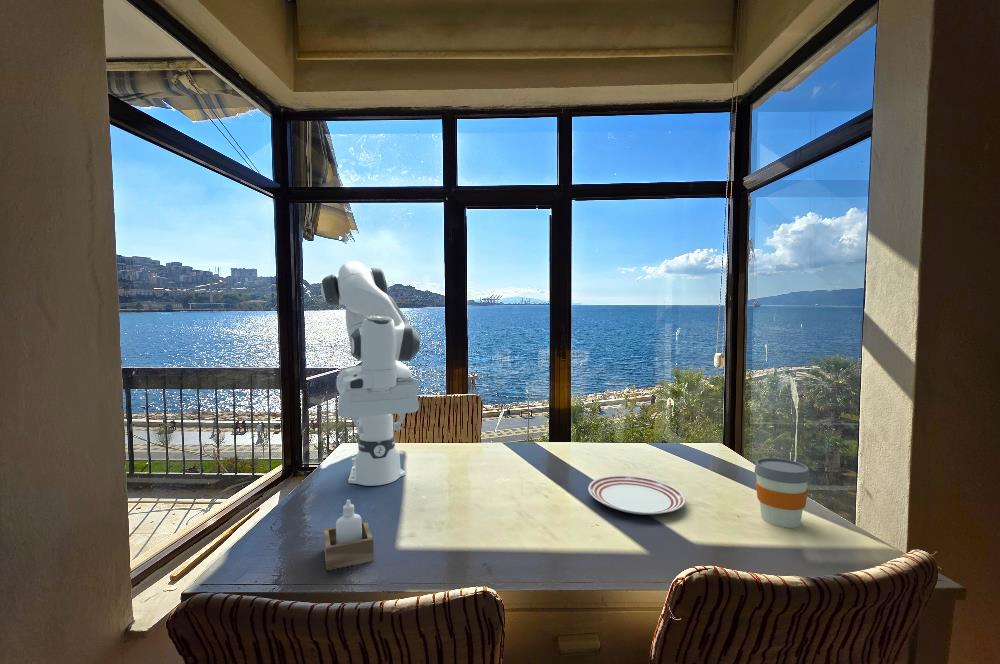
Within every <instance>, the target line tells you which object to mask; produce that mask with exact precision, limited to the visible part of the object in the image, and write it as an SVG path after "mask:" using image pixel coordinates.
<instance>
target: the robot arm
mask: <svg viewBox="0 0 1000 664" xmlns="http://www.w3.org/2000/svg"><path fill="white" fill-rule="evenodd" d="M338 270H339V271H338V273H337V274H336V273H335V274H330V275H327V276H325V277H324V278H323V279H322V280H321V285H320V292H321V297H322V298H323V299H324V301H325V303H326V304H328V305H330V306H333V307H334V306H335V307H338V306H340V305H342V306H344V307H345V323H346V331H347V334H348V335H347V336H348V340H349V344H350V355H351V356H352V357H353V358H355V360H357V361H358V362H361V364H360V365H354V366H350V367H347V368H343V369H341V370H340V372H339V373H338V376H337V377H336V382H335V383H336V385H335V386H336V390H337V392H338V393H339V395H338V403H337V415H338V416H339V417H340V419H350V418H352V419H351V420H352V422H353V423H354V425H355V427H356V434H357V435H359V437H358V440H357V447H358V448H357V449H358V451H357V453H356V455H355V456H354V457H352V458H351V465H352V467H351V470H350V474H349V477H348V479H347V480H348V484H357V485H361V486H365V487H367V486H369V487H371V486H372V487H373V486H382V485H387V484H390V483H394V482H395V481H397V480H398V479H400V478H401V477H403V476H405V475H406V471H405V470H404V469H402V467H401V459H400V451H398V450H397V449H396V448H395V447H396V438H395V435H394V431H401V429H402V424H403V422H404V420H405V418H406V414H411V413H416V412H417V411H418V410H419V406H420V402H419V396H418V392H419V390H420V382H419V380H418V379H417V378H414V377H413V375H412V371H411V370H410V368H409V367H408V366H407V365H406V364H404V363H403V362H410V361H411V360H412V359H414V358H415V357H416V356H417V354H418V353H419V352H420V348H421V347H420V345H421V344H420V343H421V342H420V337H419V334H418V332H417V330H416V329H415V328H414V327H413V326H412V325H411V324H410V323H409V321H408V320H407V319H406V317H405V316H404V313H402V311H401V309H400V307H399V306H398V305H397V303H396V301H395V300H394V299H393V298H392V296H391V295H389V294H388V290H389V289H388V288H389V280H388V277H387V275H386V273H385V271H384V270H383V269H382V268H380V267H379V268H378V267H371V268H367V267H366V265H365V264H364V263H362V262H359V261H356V260H352V261H351V260H350V261H348V262H347V261H346V262H345V263H344V264H342V266H341V267H340V268H339V269H338ZM394 415H398V416H399V417H398V419H397V422H394Z"/></svg>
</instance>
